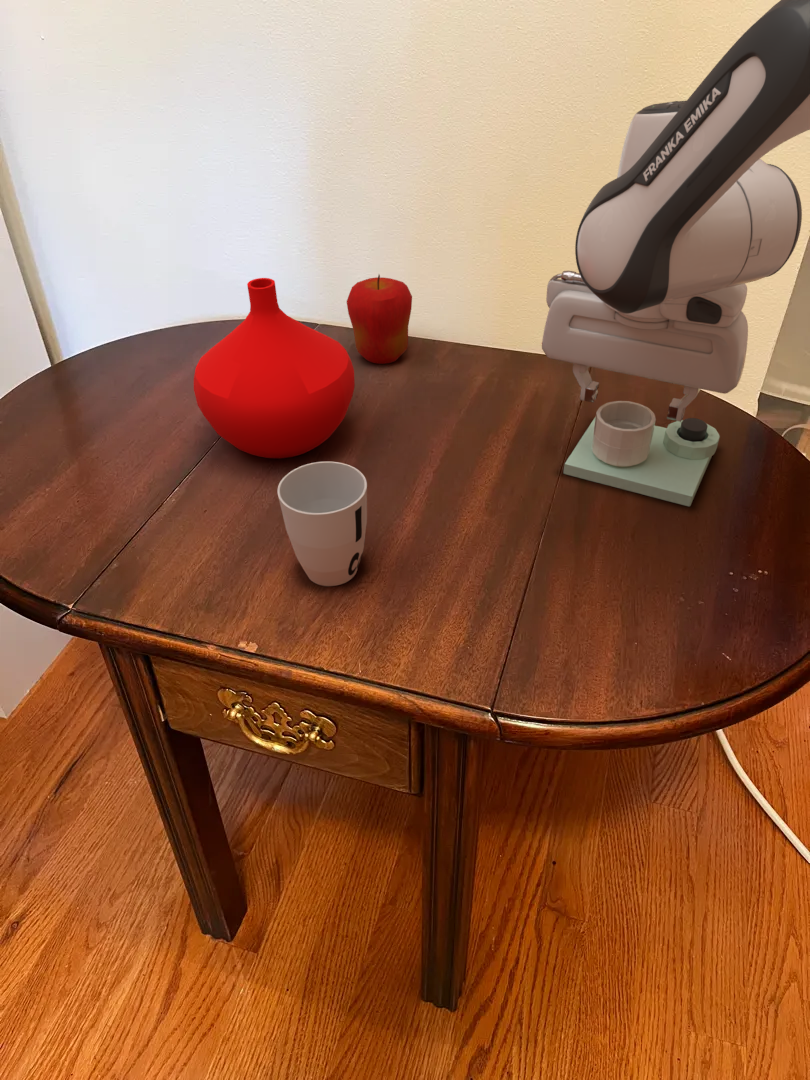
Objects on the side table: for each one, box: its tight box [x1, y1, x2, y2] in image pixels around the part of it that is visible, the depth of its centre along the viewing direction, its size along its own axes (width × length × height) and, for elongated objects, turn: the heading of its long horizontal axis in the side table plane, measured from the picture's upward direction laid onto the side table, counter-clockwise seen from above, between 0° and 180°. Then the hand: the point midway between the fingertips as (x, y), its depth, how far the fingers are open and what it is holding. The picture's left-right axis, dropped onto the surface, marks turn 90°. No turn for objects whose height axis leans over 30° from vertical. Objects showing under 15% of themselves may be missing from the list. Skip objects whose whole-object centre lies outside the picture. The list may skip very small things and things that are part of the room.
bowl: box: [592, 400, 657, 467], centre depth 92 cm, size 6×6×5 cm
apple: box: [346, 274, 413, 365], centre depth 112 cm, size 9×8×12 cm
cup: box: [276, 461, 368, 587], centre depth 79 cm, size 8×8×10 cm
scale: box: [563, 416, 721, 508], centre depth 94 cm, size 14×12×3 cm
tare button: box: [679, 417, 708, 442], centre depth 93 cm, size 3×3×2 cm
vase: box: [193, 277, 356, 459], centre depth 95 cm, size 18×18×19 cm
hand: (631, 408), depth 90 cm, fingers open, 8 cm apart
